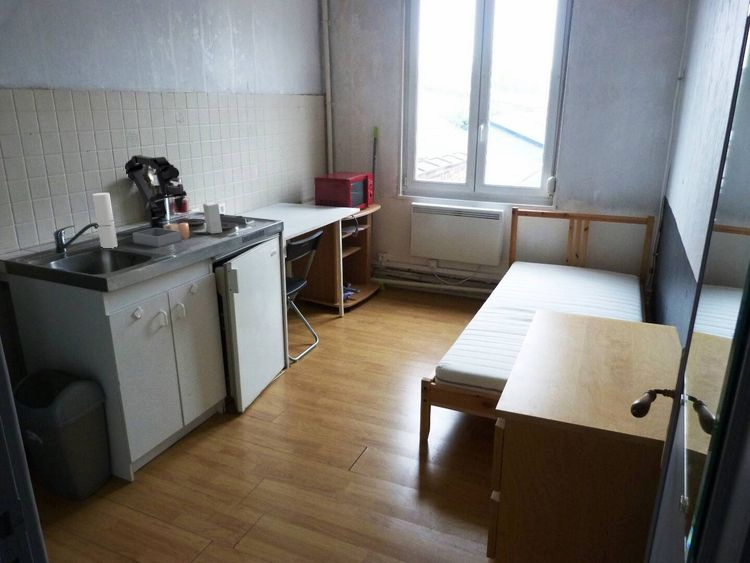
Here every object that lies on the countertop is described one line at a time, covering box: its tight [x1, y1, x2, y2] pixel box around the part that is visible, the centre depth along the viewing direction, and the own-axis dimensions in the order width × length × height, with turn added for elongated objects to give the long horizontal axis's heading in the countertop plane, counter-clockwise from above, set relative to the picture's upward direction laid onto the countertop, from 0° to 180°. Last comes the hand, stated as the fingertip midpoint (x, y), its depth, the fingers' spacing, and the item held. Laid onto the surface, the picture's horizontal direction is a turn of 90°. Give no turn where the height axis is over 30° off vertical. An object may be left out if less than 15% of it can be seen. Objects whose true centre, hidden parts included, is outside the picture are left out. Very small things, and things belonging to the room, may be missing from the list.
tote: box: [132, 228, 183, 248], centre depth 272 cm, size 18×14×5 cm
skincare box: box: [202, 201, 223, 234], centre depth 291 cm, size 8×6×15 cm
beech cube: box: [163, 223, 179, 231], centre depth 288 cm, size 5×5×5 cm
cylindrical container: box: [91, 192, 118, 249], centre depth 262 cm, size 7×7×25 cm
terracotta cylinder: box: [177, 222, 191, 240], centre depth 281 cm, size 5×5×7 cm
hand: (173, 213), depth 284 cm, fingers open, 9 cm apart
